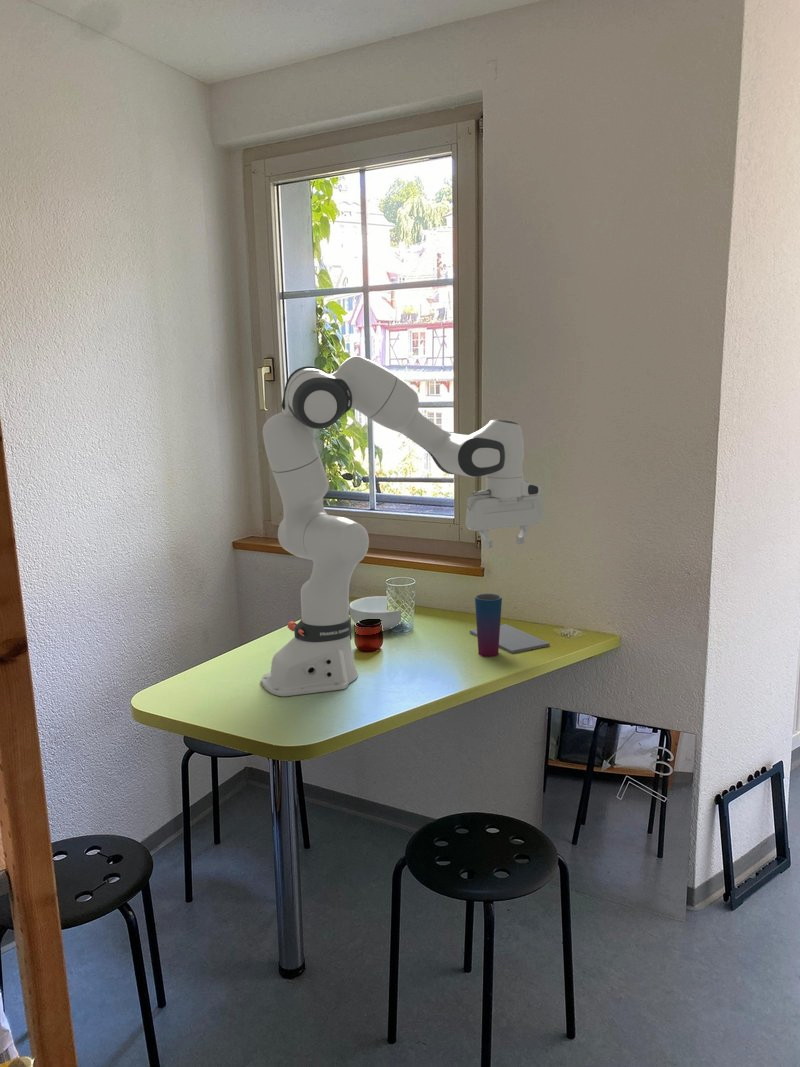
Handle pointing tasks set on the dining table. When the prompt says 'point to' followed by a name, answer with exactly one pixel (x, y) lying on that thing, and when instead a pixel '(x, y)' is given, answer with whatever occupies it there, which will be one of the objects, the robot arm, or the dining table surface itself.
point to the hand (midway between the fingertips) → (504, 545)
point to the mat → (516, 640)
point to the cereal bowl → (374, 611)
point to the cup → (488, 623)
